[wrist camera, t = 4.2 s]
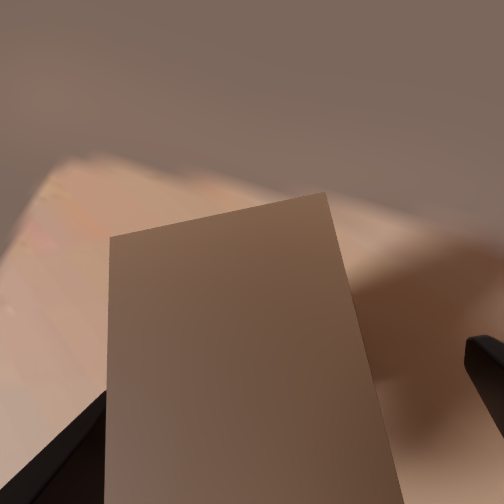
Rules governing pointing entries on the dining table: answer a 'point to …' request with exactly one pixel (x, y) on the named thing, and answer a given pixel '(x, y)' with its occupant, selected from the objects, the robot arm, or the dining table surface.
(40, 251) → the dining table surface
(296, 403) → the tall brown block
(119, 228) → the dining table surface
